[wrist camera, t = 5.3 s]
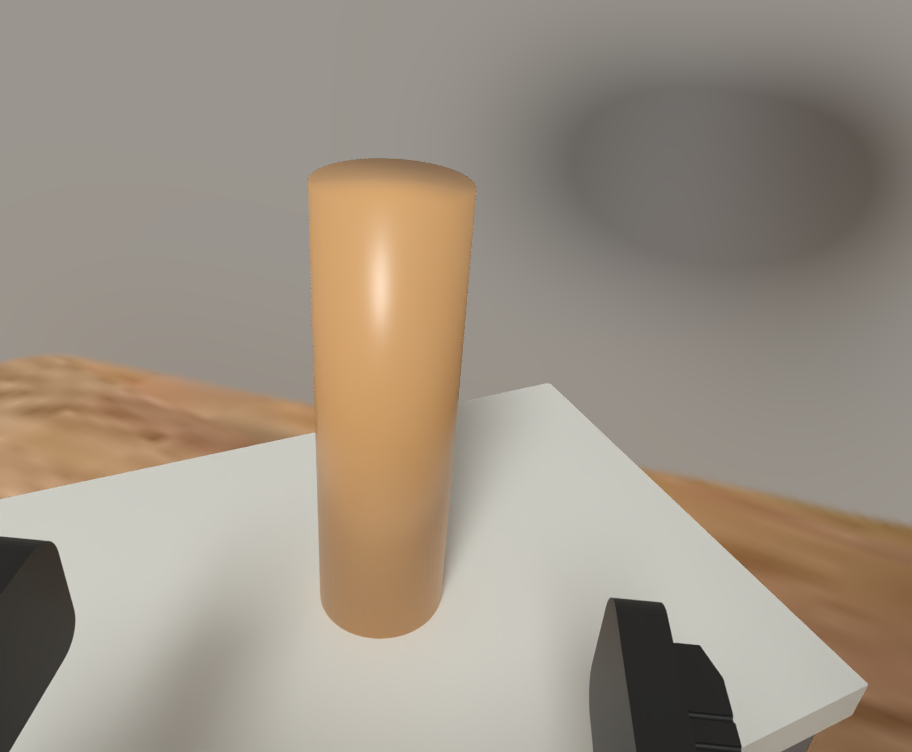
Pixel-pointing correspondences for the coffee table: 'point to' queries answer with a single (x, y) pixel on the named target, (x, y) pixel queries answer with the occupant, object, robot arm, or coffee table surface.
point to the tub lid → (395, 545)
